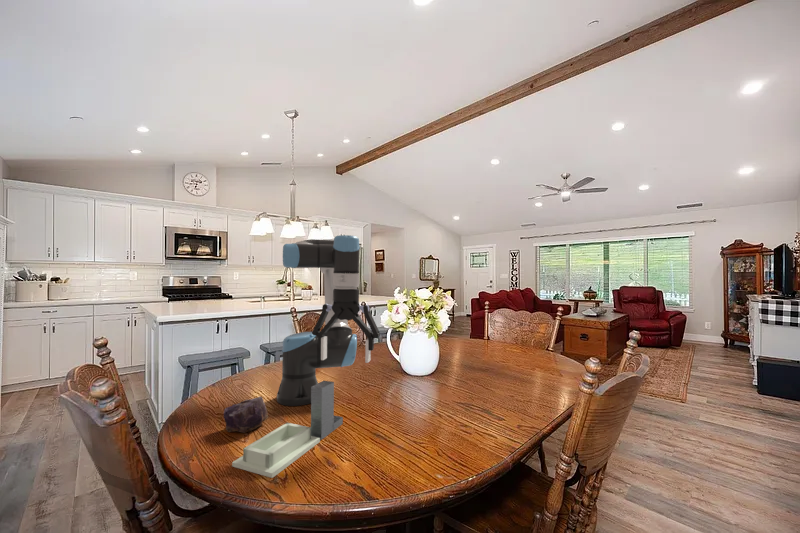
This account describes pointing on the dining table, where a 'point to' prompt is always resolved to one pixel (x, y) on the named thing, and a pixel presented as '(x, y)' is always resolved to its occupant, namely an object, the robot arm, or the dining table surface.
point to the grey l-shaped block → (323, 410)
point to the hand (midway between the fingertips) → (345, 360)
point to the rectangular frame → (276, 450)
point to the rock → (245, 415)
